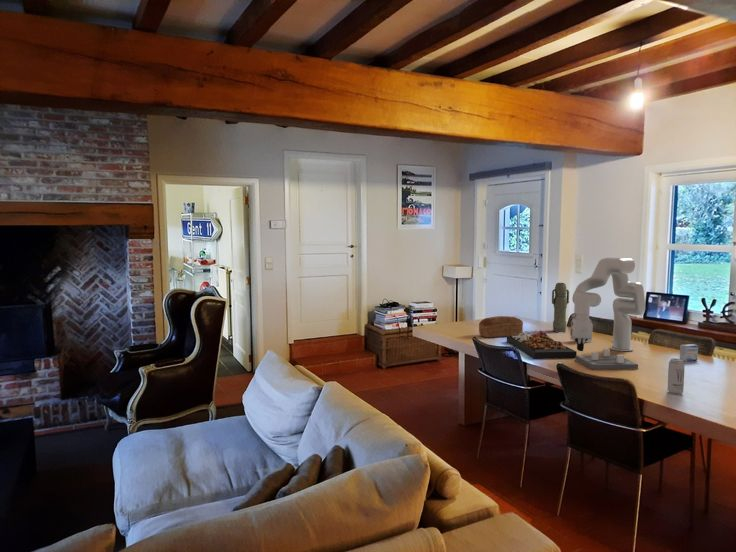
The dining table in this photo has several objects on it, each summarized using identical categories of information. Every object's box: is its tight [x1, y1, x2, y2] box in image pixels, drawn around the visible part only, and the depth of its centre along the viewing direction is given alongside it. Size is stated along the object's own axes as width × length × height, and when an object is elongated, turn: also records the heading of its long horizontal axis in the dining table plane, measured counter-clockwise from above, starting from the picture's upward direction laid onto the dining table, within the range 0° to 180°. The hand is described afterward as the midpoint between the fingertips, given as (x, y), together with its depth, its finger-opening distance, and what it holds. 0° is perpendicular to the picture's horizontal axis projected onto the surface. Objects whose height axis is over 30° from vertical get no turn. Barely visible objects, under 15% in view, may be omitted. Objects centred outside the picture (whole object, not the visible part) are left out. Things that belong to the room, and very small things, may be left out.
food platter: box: [506, 330, 578, 360], centre depth 307 cm, size 45×25×10 cm, turn 4°
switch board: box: [575, 354, 639, 371], centre depth 272 cm, size 20×24×3 cm
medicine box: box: [679, 343, 699, 362], centre depth 280 cm, size 8×4×9 cm, turn 105°
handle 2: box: [616, 354, 625, 363], centre depth 265 cm, size 2×3×4 cm, turn 92°
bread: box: [478, 315, 524, 338], centre depth 348 cm, size 12×31×14 cm, turn 104°
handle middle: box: [591, 351, 600, 360], centre depth 271 cm, size 2×3×4 cm, turn 93°
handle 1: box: [602, 348, 611, 357], centre depth 279 cm, size 2×3×4 cm, turn 92°
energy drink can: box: [667, 357, 686, 396], centre depth 223 cm, size 6×6×15 cm
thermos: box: [551, 282, 570, 333], centre depth 361 cm, size 9×12×35 cm
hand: (580, 350), depth 271 cm, fingers closed
